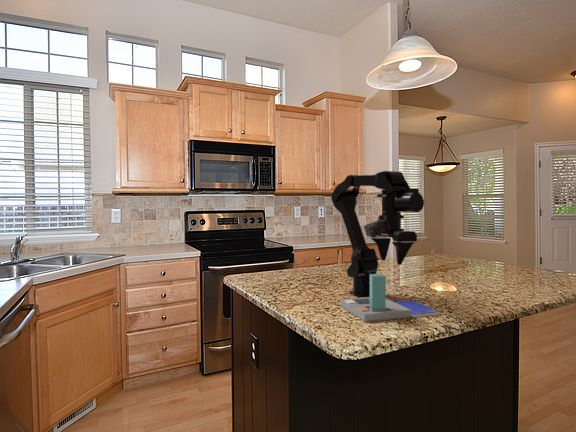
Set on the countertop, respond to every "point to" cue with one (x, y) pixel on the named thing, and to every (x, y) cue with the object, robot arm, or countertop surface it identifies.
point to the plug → (377, 292)
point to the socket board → (362, 311)
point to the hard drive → (418, 309)
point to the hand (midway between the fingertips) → (391, 262)
